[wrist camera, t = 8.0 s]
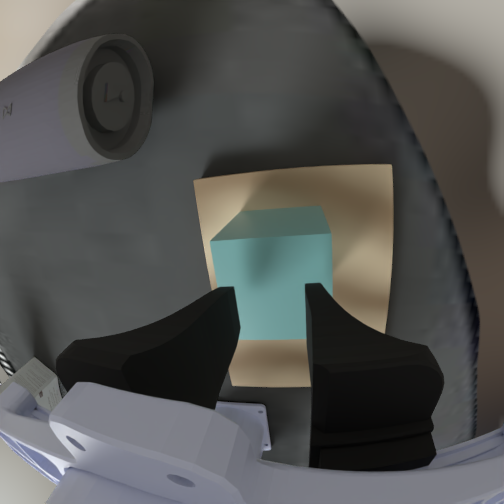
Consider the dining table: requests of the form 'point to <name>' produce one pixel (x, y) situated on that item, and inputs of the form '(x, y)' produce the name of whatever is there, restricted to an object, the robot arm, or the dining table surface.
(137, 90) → the bluetooth speaker
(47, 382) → the skincare box
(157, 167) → the dining table surface
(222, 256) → the teal foam brick
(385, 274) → the base board
